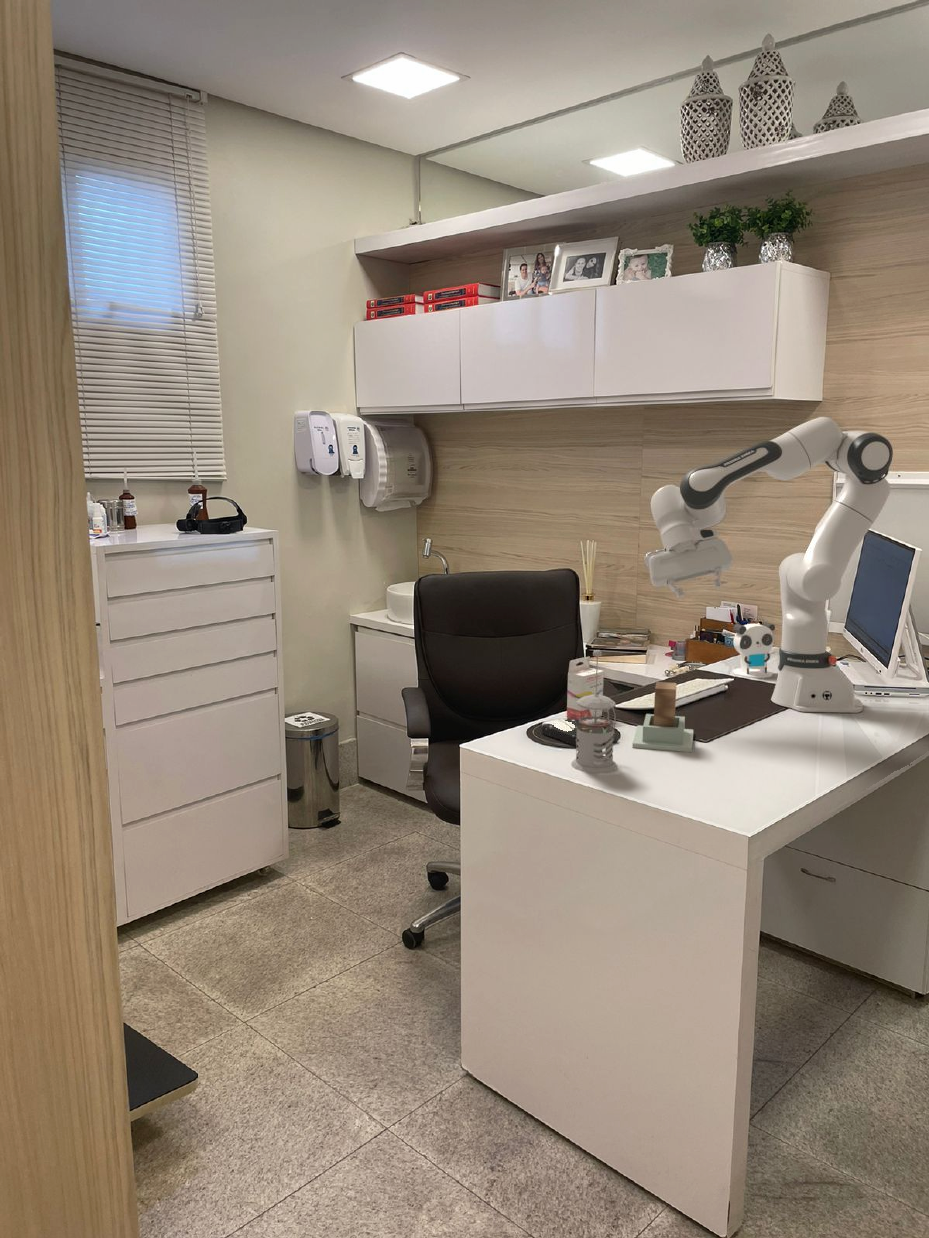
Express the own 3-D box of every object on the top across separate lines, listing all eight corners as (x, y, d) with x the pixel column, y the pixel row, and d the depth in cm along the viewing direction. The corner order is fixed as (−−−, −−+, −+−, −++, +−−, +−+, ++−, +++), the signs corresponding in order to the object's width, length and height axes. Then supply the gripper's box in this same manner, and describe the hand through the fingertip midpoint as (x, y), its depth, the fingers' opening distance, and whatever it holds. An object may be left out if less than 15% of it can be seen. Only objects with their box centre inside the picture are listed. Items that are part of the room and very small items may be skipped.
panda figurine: (743, 679, 272) (746, 628, 270) (723, 670, 283) (726, 621, 280) (780, 676, 275) (783, 626, 272) (759, 667, 286) (762, 619, 283)
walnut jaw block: (674, 733, 218) (676, 683, 216) (673, 740, 213) (675, 689, 210) (654, 731, 219) (656, 681, 217) (652, 739, 214) (655, 688, 211)
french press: (561, 765, 199) (564, 650, 195) (591, 752, 208) (594, 641, 203) (601, 776, 193) (605, 657, 188) (630, 761, 202) (634, 648, 197)
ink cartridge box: (581, 722, 230) (583, 664, 227) (566, 718, 233) (567, 660, 231) (603, 715, 236) (604, 658, 233) (587, 711, 239) (589, 655, 236)
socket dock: (693, 733, 221) (694, 715, 220) (691, 752, 208) (692, 732, 207) (637, 729, 224) (638, 711, 224) (632, 747, 211) (633, 728, 210)
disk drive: (540, 736, 221) (585, 751, 209) (540, 725, 221) (585, 739, 209) (572, 728, 227) (617, 743, 216) (572, 717, 227) (618, 731, 215)
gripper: (641, 548, 232) (658, 596, 225) (722, 527, 231) (742, 575, 225) (640, 560, 237) (657, 607, 231) (719, 540, 237) (738, 587, 231)
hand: (699, 591), depth 228 cm, fingers open, 8 cm apart
